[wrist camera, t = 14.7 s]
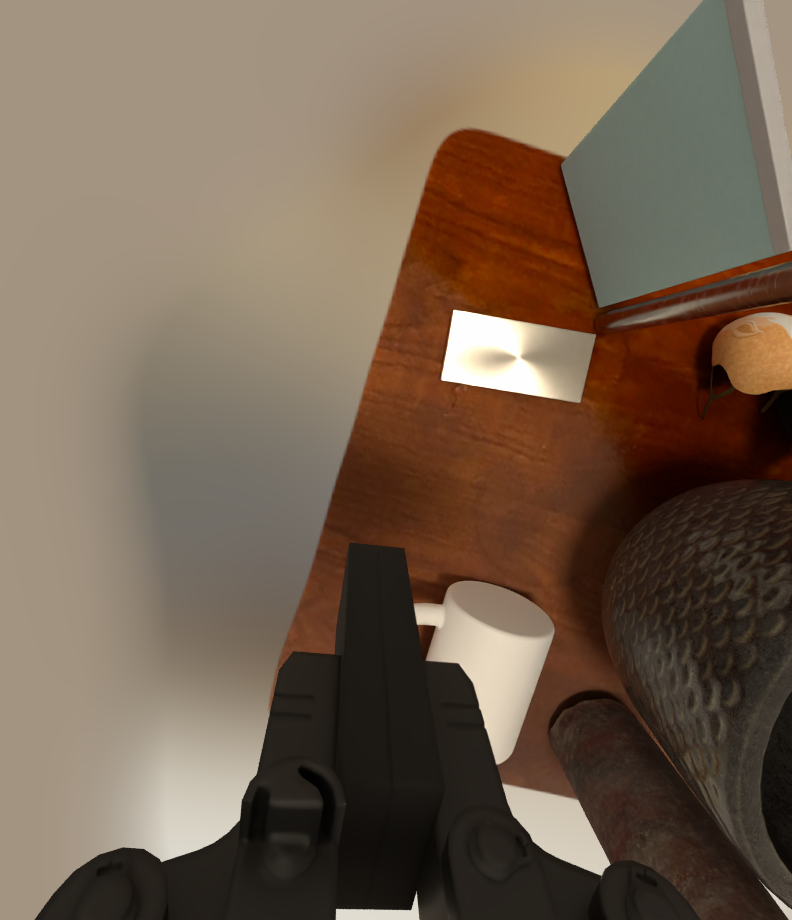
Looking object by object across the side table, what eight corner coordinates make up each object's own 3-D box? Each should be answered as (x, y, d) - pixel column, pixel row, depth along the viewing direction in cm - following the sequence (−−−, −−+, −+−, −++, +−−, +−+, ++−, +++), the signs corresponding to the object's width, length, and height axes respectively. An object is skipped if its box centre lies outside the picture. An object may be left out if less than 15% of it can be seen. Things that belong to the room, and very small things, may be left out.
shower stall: (439, 380, 35) (501, 387, 17) (456, 281, 34) (543, 175, 16) (598, 406, 36) (820, 440, 18) (621, 310, 35) (884, 242, 17)
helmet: (741, 381, 38) (795, 289, 33) (796, 438, 34) (871, 342, 28) (671, 389, 38) (712, 297, 33) (716, 447, 34) (775, 353, 28)
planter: (623, 415, 36) (891, 461, 17) (842, 502, 38) (1300, 630, 19) (520, 638, 39) (651, 885, 20) (727, 708, 41) (1023, 994, 22)
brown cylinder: (579, 673, 40) (773, 965, 20) (649, 708, 41) (902, 1021, 21) (532, 743, 41) (672, 1085, 21) (601, 776, 42) (798, 1134, 22)
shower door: (559, 165, 32) (735, -40, 16) (595, 151, 32) (808, -69, 16) (598, 308, 34) (790, 250, 18) (632, 295, 34) (856, 226, 18)
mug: (534, 593, 38) (574, 649, 30) (498, 699, 40) (527, 778, 32) (392, 559, 37) (395, 608, 30) (361, 669, 39) (357, 743, 31)
